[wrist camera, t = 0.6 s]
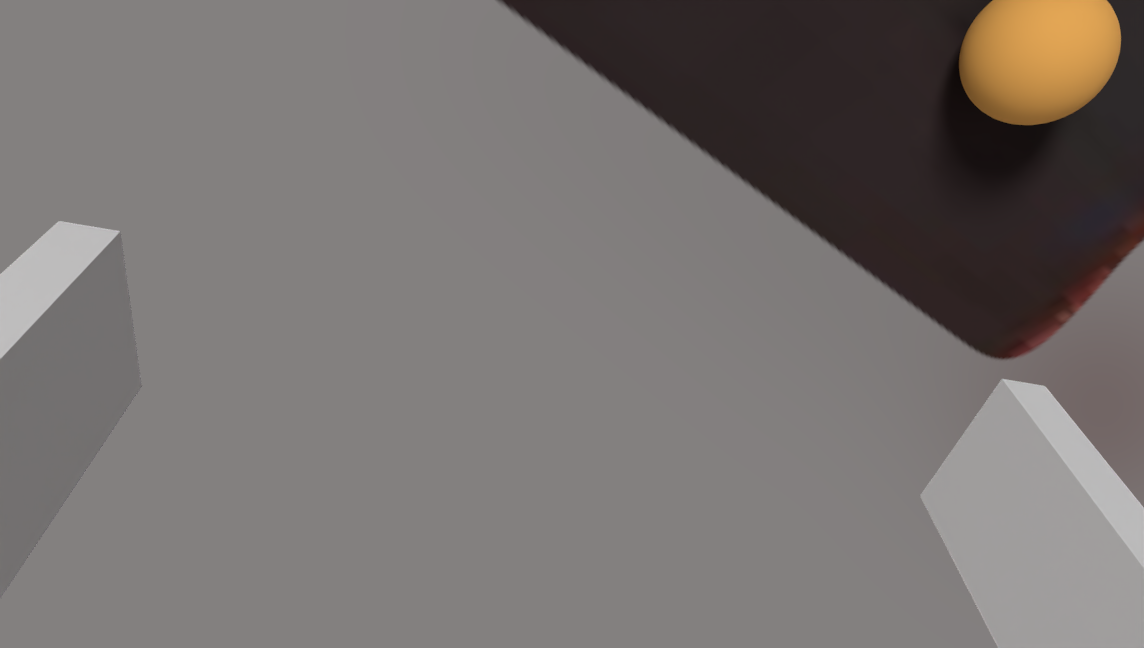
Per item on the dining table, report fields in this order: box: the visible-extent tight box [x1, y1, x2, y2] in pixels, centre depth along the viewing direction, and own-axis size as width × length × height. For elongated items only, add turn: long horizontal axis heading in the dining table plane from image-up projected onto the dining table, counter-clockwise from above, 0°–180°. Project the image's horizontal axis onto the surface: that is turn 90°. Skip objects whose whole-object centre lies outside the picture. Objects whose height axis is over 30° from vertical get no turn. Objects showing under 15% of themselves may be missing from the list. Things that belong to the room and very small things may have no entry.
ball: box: [959, 0, 1121, 125], centre depth 31 cm, size 6×6×6 cm
